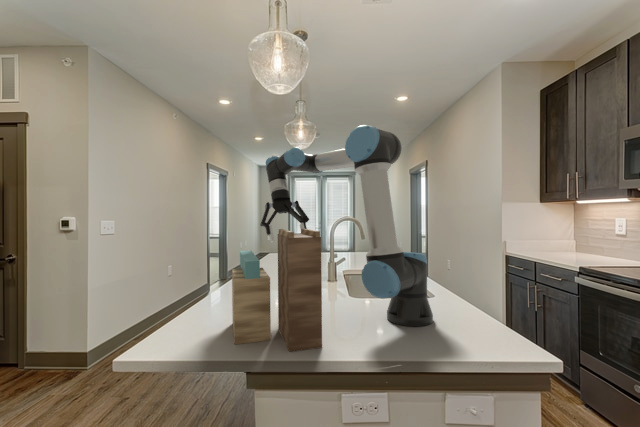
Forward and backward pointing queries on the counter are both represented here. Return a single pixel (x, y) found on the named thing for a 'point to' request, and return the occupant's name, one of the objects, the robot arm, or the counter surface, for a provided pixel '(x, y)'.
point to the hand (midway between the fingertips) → (288, 240)
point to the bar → (249, 265)
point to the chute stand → (300, 289)
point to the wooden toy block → (251, 307)
